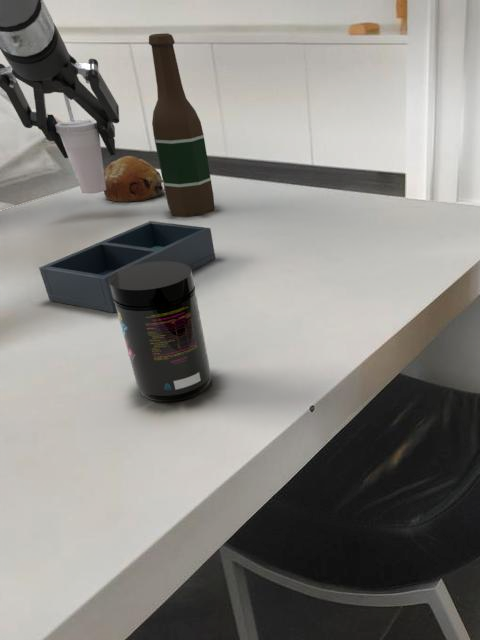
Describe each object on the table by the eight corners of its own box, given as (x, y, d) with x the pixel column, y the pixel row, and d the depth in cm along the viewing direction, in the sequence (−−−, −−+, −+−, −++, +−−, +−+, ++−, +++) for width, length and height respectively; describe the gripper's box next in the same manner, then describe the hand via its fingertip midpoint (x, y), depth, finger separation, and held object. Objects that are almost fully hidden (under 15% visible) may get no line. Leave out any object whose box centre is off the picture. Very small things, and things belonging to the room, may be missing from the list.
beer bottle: (182, 220, 107) (147, 37, 92) (159, 211, 111) (122, 35, 97) (225, 209, 110) (198, 32, 96) (200, 201, 115) (171, 31, 101)
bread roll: (151, 206, 127) (130, 163, 125) (180, 187, 120) (158, 140, 118) (107, 220, 121) (84, 174, 118) (135, 200, 114) (111, 151, 111)
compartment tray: (49, 300, 81) (38, 267, 79) (156, 250, 95) (150, 220, 93) (114, 312, 77) (104, 278, 75) (215, 258, 91) (210, 227, 89)
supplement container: (187, 362, 66) (164, 255, 60) (228, 384, 62) (207, 272, 56) (124, 388, 63) (93, 277, 57) (163, 413, 59) (134, 296, 53)
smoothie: (71, 188, 110) (44, 89, 102) (112, 183, 112) (89, 85, 104) (74, 198, 105) (46, 94, 97) (117, 192, 107) (93, 90, 99)
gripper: (-54, 64, 84) (27, 174, 107) (105, 56, 86) (152, 167, 108) (-55, 10, 85) (26, 130, 108) (103, 3, 87) (150, 123, 109)
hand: (89, 148), depth 108 cm, fingers closed on smoothie, 6 cm apart
